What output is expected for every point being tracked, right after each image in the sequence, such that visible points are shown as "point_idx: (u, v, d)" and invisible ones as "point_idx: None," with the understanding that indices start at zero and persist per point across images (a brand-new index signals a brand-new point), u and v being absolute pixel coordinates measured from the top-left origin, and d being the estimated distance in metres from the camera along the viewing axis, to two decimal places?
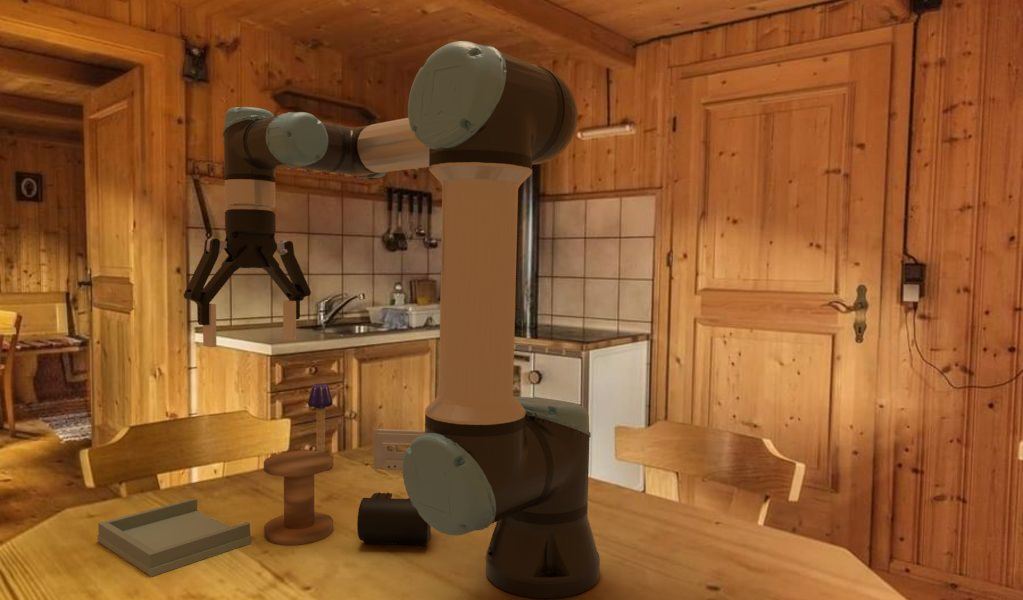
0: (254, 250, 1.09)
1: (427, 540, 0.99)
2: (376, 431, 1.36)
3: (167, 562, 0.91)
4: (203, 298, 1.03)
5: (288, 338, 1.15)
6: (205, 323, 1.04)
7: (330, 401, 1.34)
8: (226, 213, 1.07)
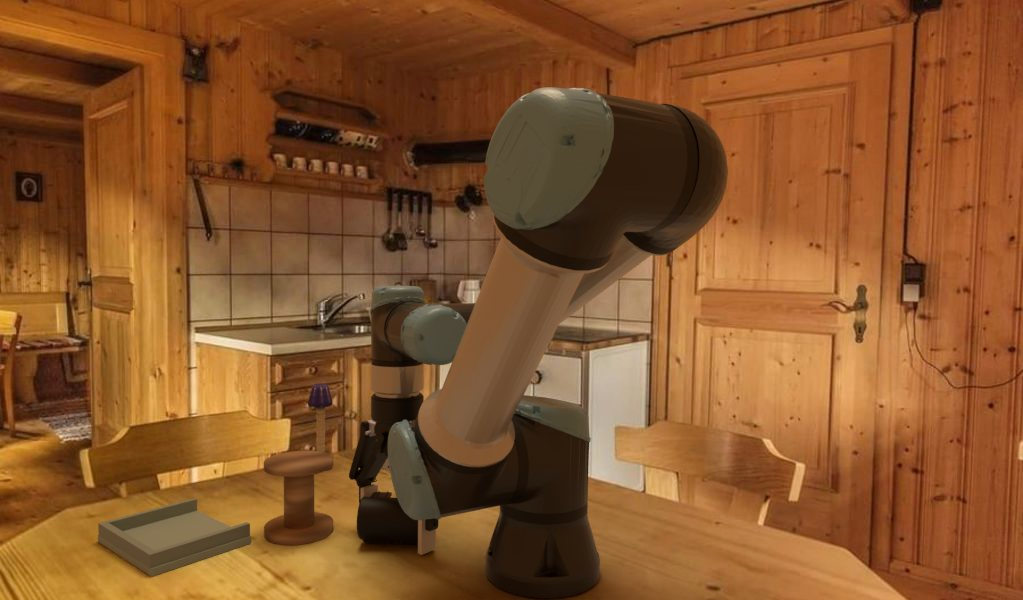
0: None
1: None
2: None
3: (167, 562, 0.91)
4: (357, 480, 1.05)
5: None
6: None
7: (330, 401, 1.34)
8: None
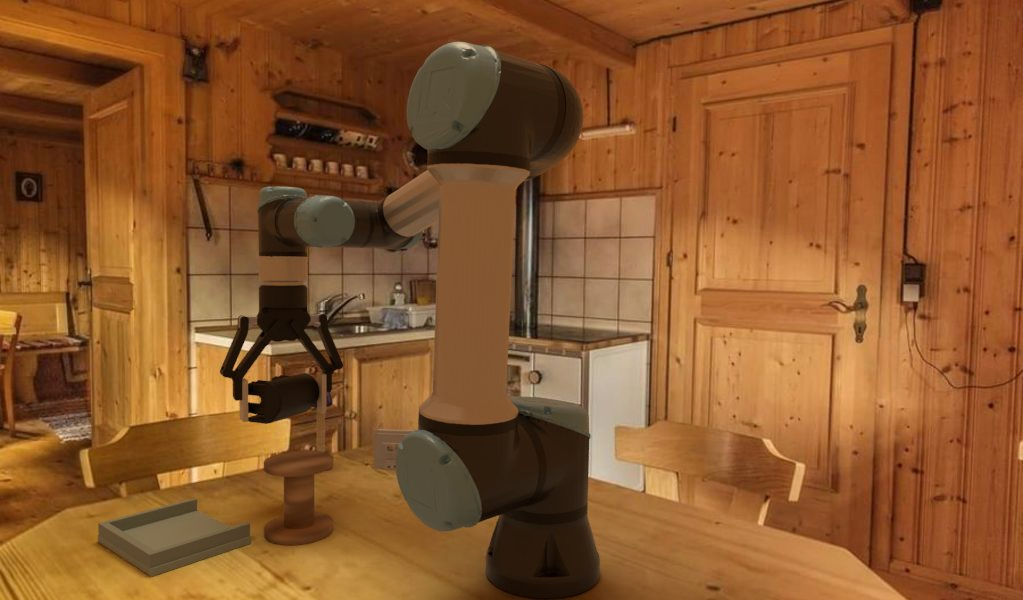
0: (285, 323, 1.12)
1: (314, 404, 1.17)
2: (376, 431, 1.36)
3: (167, 562, 0.91)
4: (235, 375, 1.08)
5: (320, 411, 1.16)
6: (238, 398, 1.09)
7: (330, 401, 1.34)
8: (259, 289, 1.11)
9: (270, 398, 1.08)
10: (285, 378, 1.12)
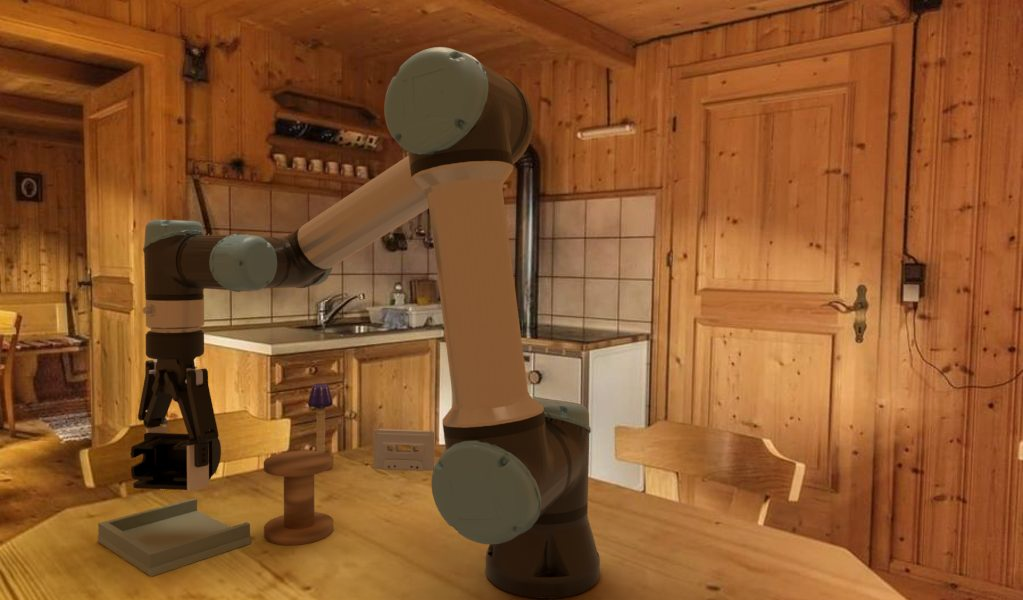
0: None
1: None
2: (376, 431, 1.36)
3: (167, 562, 0.91)
4: None
5: None
6: None
7: (330, 401, 1.34)
8: (184, 337, 0.96)
9: (215, 450, 1.01)
10: None
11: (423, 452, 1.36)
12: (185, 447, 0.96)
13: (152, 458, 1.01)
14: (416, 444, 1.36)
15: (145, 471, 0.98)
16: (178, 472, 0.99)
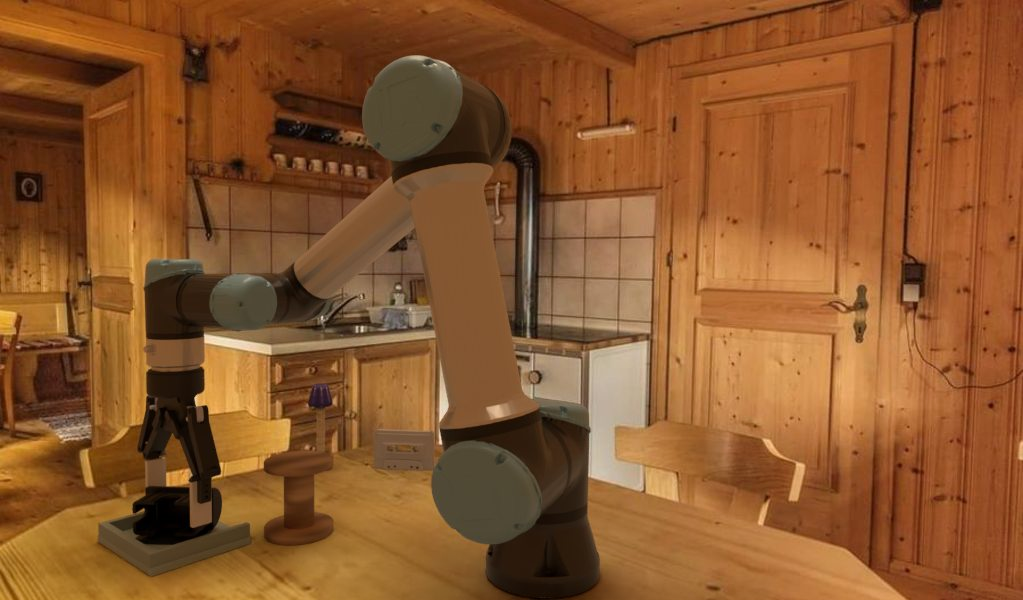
0: None
1: None
2: (376, 431, 1.36)
3: (167, 562, 0.91)
4: None
5: None
6: None
7: (330, 401, 1.34)
8: (184, 376, 0.96)
9: (216, 502, 1.01)
10: (185, 487, 1.01)
11: (423, 452, 1.36)
12: (186, 503, 0.96)
13: (153, 511, 1.01)
14: (416, 444, 1.36)
15: (146, 525, 0.99)
16: (179, 526, 0.99)
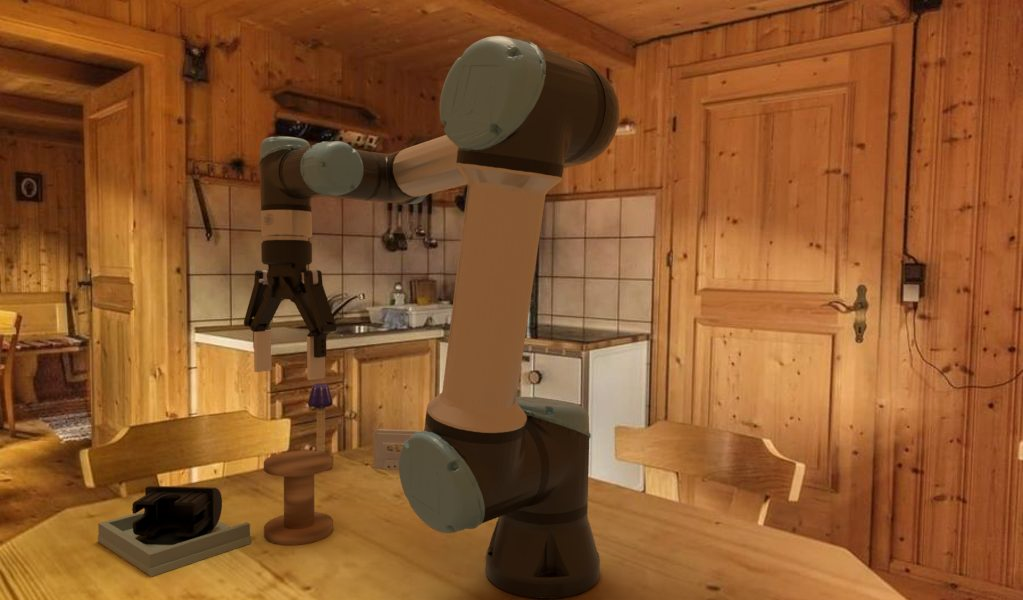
0: None
1: None
2: (376, 431, 1.36)
3: (167, 562, 0.91)
4: None
5: (265, 369, 1.13)
6: None
7: (330, 401, 1.34)
8: (299, 244, 1.05)
9: (216, 502, 1.01)
10: (185, 487, 1.01)
11: None
12: (186, 503, 0.96)
13: (153, 512, 1.01)
14: None
15: (146, 525, 0.99)
16: (179, 526, 0.99)
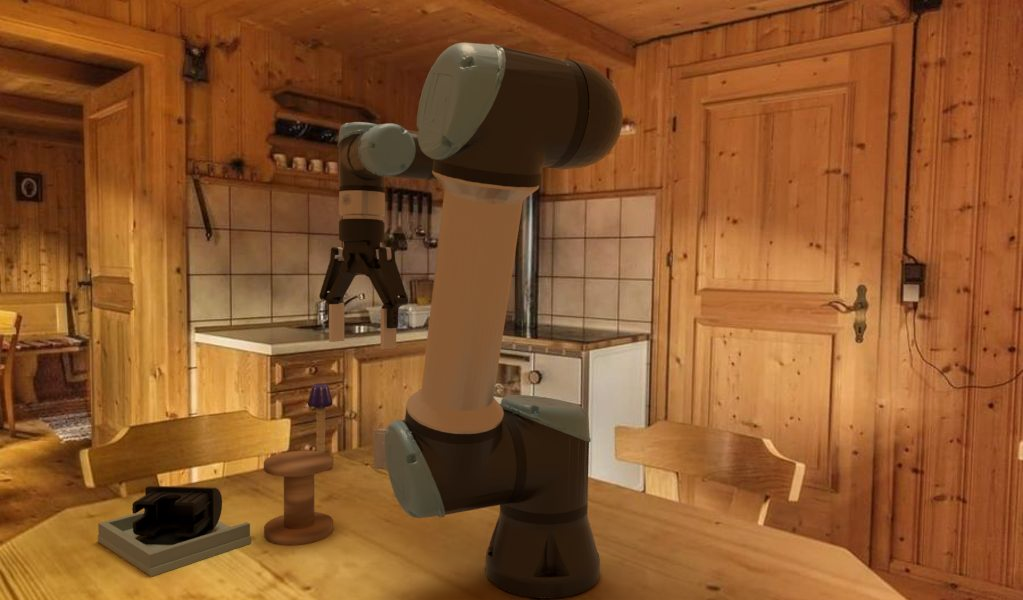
0: None
1: None
2: (376, 431, 1.36)
3: (167, 562, 0.91)
4: None
5: (339, 339, 1.21)
6: None
7: (330, 401, 1.34)
8: (374, 222, 1.13)
9: (216, 502, 1.01)
10: (185, 487, 1.01)
11: None
12: (186, 503, 0.96)
13: (153, 511, 1.01)
14: None
15: (147, 525, 0.99)
16: (179, 526, 0.99)
